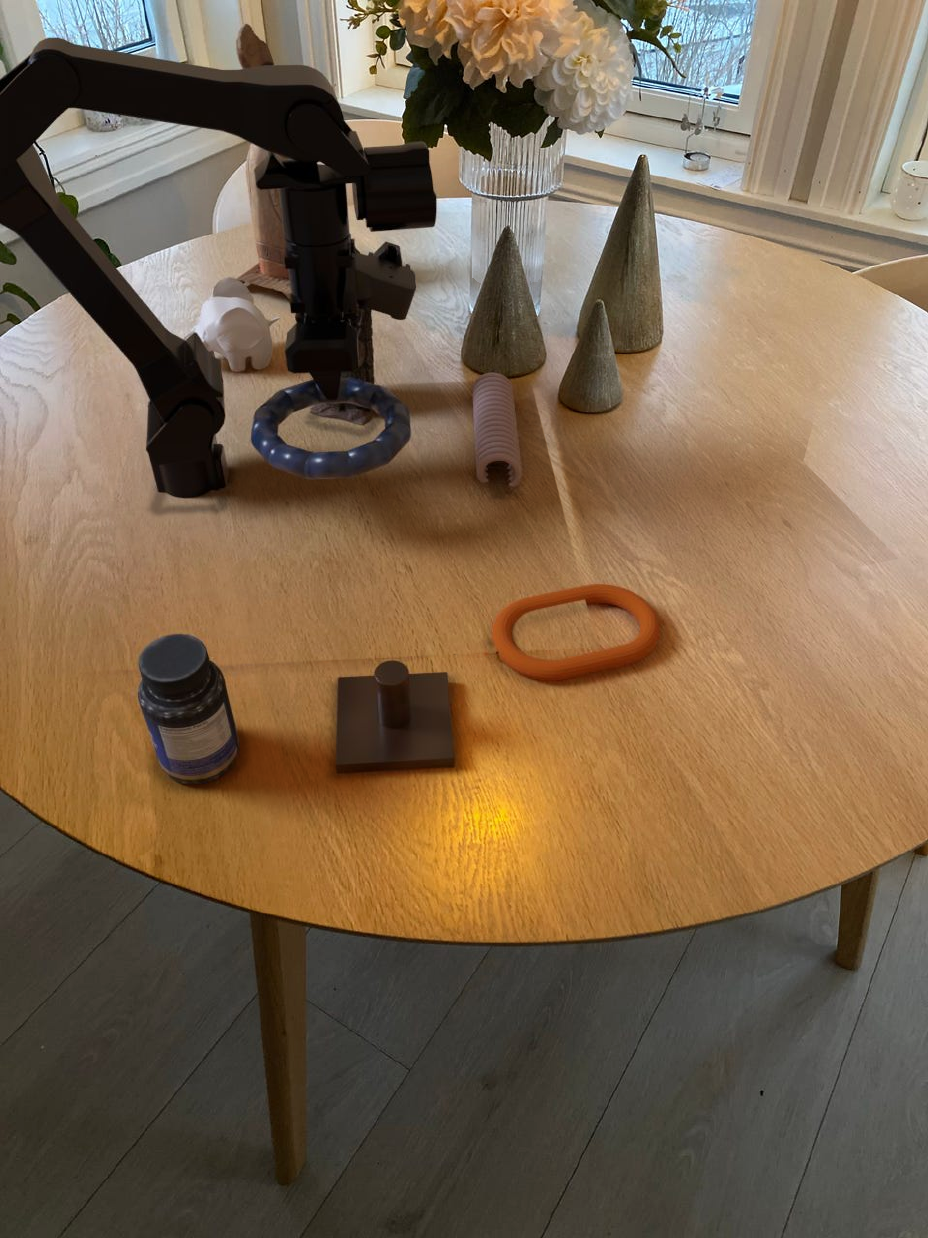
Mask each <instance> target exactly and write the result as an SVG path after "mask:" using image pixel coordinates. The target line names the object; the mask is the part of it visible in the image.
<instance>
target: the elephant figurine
mask: <svg viewBox="0 0 928 1238" xmlns="http://www.w3.org/2000/svg"><path fill="white" fill-rule="evenodd" d="M280 320H281V317H280V316H278V317H273V318H269V319H267V318H266V317H265V315H264V313H263V312H262V311H261V309H259V308H258V307H257V305H255V299H254V297H253V295H252V293H251V292H250V290H249V289H248V287H247V286H246V285H245V283H244V284H243V283H241V282H240V281H239V280H237V279H236V278H235V277H232V276H227V277H224V278H222V279H220V280H219V281H217V282H216V283H215V285H214V286H213V287H212V291H211V295H210V297H209V298H208V299H206V300H205V302H204V303H203V305H202V306H201V310H200V315H199V319H198V322H197V324H195V325H194V326H193V327H192V329H190V331H188V332H187V333H186V335H184V337H183V339H184V340H186V339H187V338H188V337H190V336H191V335H192V334H193V333H195V332H196V333H197V334H198V335H199V337H200V338H201V340H202V342H203V344H204V346H205V347H206V349H207V350H208V351H209V352H210V353H211V354H212V355H213V356H214V357H215V358H216V355H215V353H218V354H220V355H222V356H223V357H224V358H225V359H226V360H227V361H228V364H229V368H230V370H231V371H232V372H235V373H239V372H243V371H245V370H246V367H247V366H246V359H247V358H248V357H250V360H251V361H250V363H251V364H250V365H251V367H252V368H253V369H255V370H259V371H260V370H263V369H266V368H267V367H269V364H270V361H271V359H272V356H273V350H274V349H273V348H274V347H273V346H274V343H273V338H272V334H271V333H272V332H271V329H270V327H271V326H272V325H273V324H274V323H276V322H277V321H280Z"/></svg>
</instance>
